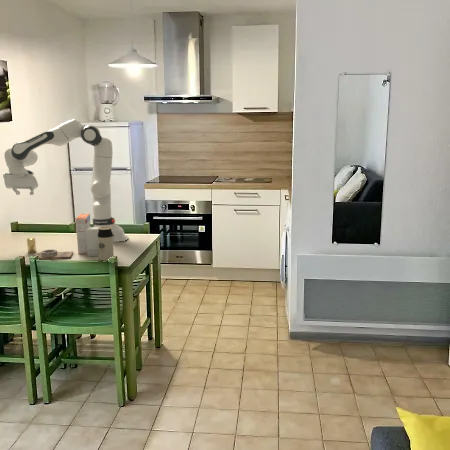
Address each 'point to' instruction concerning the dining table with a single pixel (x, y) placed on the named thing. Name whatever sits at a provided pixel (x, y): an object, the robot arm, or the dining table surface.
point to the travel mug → (105, 242)
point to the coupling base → (59, 255)
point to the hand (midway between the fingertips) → (25, 194)
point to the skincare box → (92, 241)
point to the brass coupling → (31, 245)
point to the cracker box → (82, 232)
